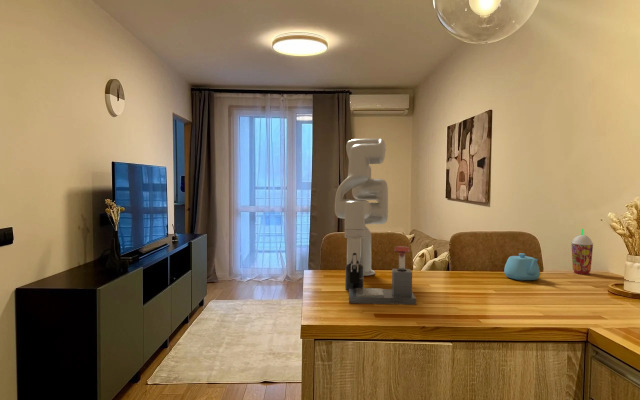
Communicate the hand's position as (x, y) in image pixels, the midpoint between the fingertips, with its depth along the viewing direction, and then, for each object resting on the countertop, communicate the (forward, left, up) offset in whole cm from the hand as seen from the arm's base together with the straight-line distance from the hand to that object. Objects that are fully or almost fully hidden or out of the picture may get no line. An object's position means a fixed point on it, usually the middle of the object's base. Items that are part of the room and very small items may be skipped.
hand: (354, 280), depth 160 cm
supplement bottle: (0, 0, -3) cm, 3 cm away
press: (+14, +9, -3) cm, 17 cm away
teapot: (-23, +71, -4) cm, 75 cm away
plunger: (+14, +16, +3) cm, 22 cm away
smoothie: (-37, +102, -3) cm, 109 cm away
